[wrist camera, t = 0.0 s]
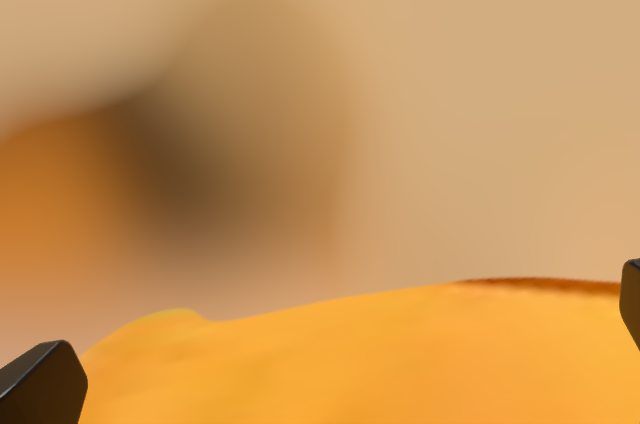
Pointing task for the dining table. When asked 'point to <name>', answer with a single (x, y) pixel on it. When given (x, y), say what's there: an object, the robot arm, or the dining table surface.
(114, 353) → the dining table surface
